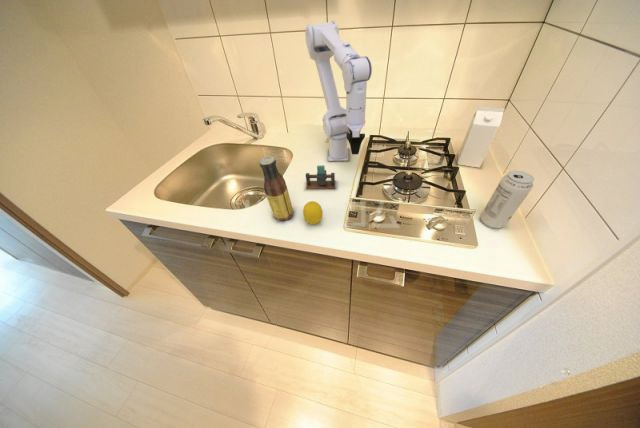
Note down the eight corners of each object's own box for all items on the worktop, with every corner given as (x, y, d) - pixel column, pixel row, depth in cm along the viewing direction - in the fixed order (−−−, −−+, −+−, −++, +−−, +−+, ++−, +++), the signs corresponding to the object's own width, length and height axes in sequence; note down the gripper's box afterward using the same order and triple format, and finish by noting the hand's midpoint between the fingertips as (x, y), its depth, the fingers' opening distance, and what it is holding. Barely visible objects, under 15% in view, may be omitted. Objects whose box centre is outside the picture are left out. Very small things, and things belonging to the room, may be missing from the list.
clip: (318, 178, 80) (316, 162, 75) (326, 178, 80) (325, 162, 75) (317, 185, 78) (315, 169, 73) (326, 185, 77) (324, 169, 73)
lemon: (321, 230, 65) (319, 210, 59) (302, 228, 66) (299, 208, 60) (325, 217, 68) (323, 196, 63) (307, 215, 70) (304, 195, 64)
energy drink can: (507, 231, 59) (542, 185, 49) (481, 228, 61) (509, 182, 50) (501, 215, 63) (531, 170, 53) (477, 213, 65) (502, 168, 54)
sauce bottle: (285, 205, 74) (271, 149, 60) (297, 214, 70) (286, 157, 56) (269, 216, 71) (250, 160, 57) (281, 226, 67) (264, 168, 53)
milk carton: (458, 155, 87) (478, 102, 74) (479, 158, 84) (504, 104, 71) (457, 164, 83) (478, 110, 69) (479, 168, 80) (506, 113, 67)
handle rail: (307, 182, 82) (306, 170, 78) (335, 182, 81) (335, 170, 77) (306, 189, 79) (304, 177, 76) (335, 189, 78) (334, 177, 74)
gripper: (342, 99, 74) (343, 139, 83) (341, 116, 63) (342, 159, 72) (364, 98, 73) (362, 138, 82) (367, 114, 62) (365, 159, 72)
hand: (354, 148), depth 77 cm, fingers open, 7 cm apart
